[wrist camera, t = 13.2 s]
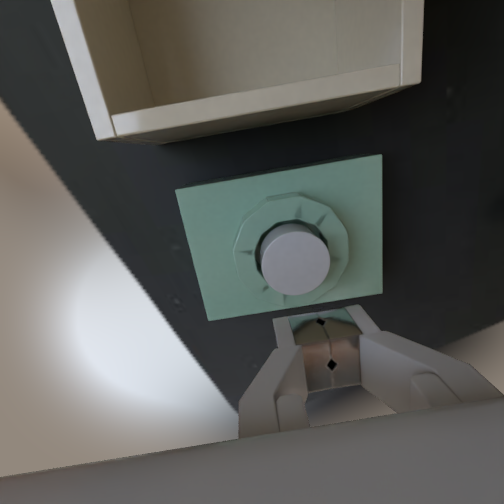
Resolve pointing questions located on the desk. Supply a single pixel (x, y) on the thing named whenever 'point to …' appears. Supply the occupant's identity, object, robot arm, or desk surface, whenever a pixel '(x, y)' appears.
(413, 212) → the desk surface
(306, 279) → the flush button
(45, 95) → the desk surface
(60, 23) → the beige box
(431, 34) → the desk surface
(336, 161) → the green button base
